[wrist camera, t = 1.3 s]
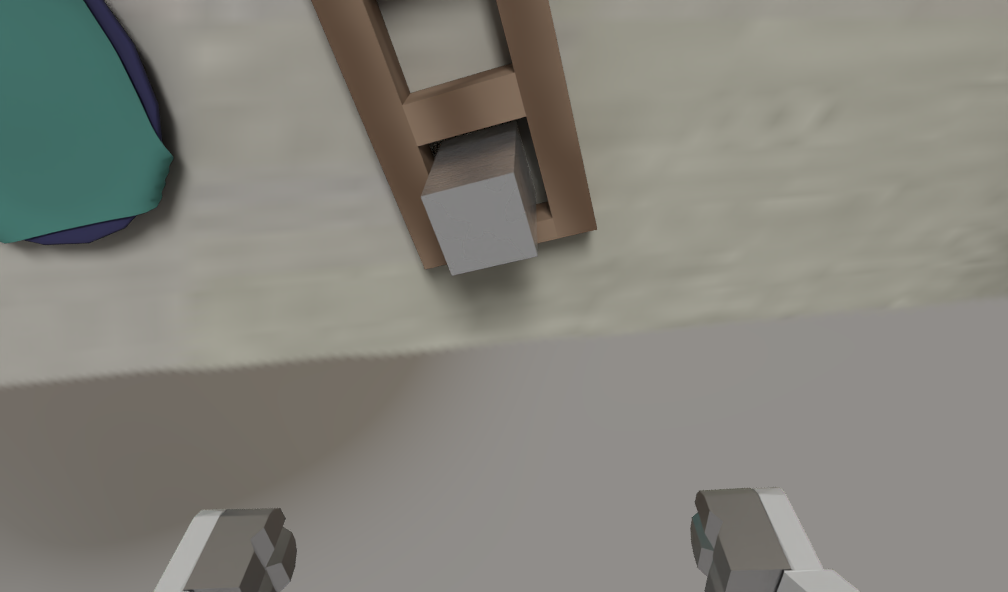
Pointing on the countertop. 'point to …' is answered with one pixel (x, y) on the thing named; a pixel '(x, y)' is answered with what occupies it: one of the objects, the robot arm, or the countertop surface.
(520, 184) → the steel block
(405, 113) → the walnut rail
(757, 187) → the countertop surface
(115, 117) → the cutlery set
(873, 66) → the countertop surface
